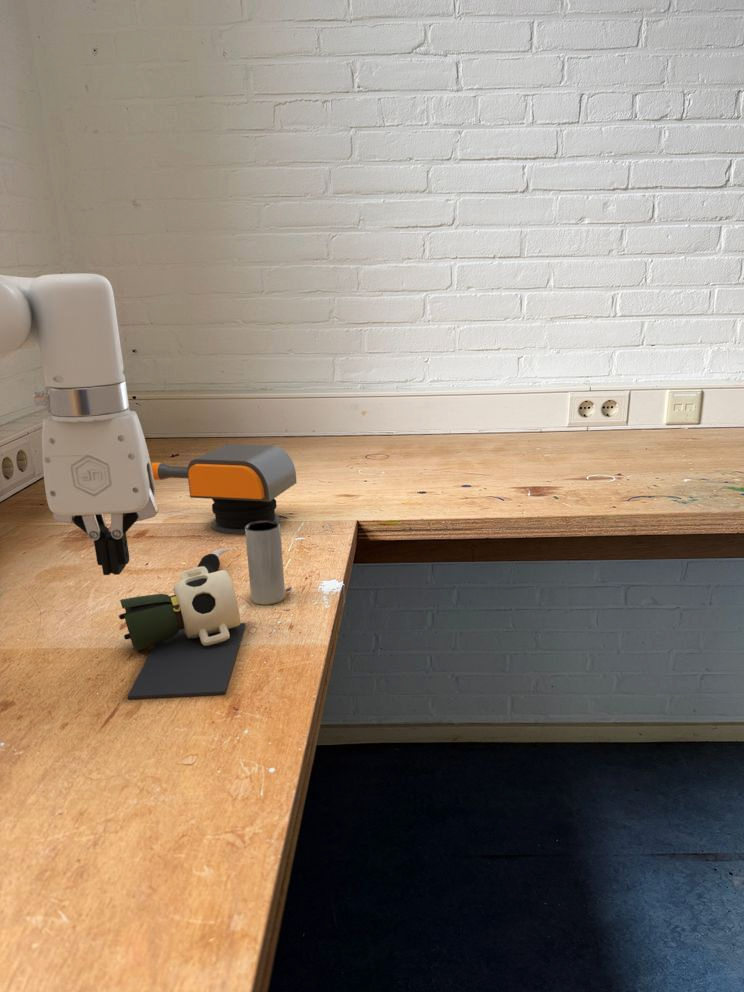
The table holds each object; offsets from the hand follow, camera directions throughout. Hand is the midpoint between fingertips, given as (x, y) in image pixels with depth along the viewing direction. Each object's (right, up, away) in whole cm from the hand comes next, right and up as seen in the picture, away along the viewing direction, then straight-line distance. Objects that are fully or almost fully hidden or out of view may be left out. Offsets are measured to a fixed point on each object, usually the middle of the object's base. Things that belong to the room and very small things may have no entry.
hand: (115, 570), depth 87 cm
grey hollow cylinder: (+13, -5, +20) cm, 25 cm away
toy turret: (-1, +6, +54) cm, 54 cm away
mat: (+7, -10, +4) cm, 13 cm away
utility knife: (+4, -3, +26) cm, 26 cm away
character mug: (-1, -7, +5) cm, 9 cm away
